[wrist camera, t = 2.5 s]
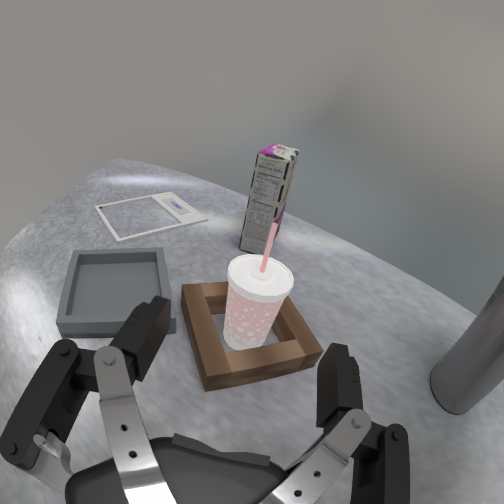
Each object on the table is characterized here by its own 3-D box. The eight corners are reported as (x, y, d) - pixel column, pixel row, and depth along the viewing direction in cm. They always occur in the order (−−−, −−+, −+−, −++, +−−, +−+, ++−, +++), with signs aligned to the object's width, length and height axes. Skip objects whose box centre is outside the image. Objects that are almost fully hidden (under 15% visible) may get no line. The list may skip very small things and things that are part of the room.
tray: (162, 262, 37) (162, 247, 36) (175, 333, 27) (175, 317, 26) (76, 265, 32) (73, 250, 31) (62, 338, 22) (55, 322, 21)
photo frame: (208, 217, 50) (117, 240, 38) (207, 223, 51) (117, 246, 39) (170, 190, 58) (94, 205, 46) (170, 195, 58) (94, 210, 46)
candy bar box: (254, 223, 53) (273, 142, 45) (278, 231, 53) (301, 150, 44) (236, 249, 44) (256, 150, 35) (265, 259, 43) (292, 159, 35)
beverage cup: (259, 366, 26) (302, 254, 19) (206, 342, 27) (224, 224, 20) (277, 329, 31) (316, 224, 24) (230, 309, 32) (254, 201, 25)
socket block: (270, 295, 36) (276, 277, 35) (313, 366, 27) (323, 350, 26) (181, 303, 31) (181, 284, 30) (205, 391, 22) (207, 376, 21)
